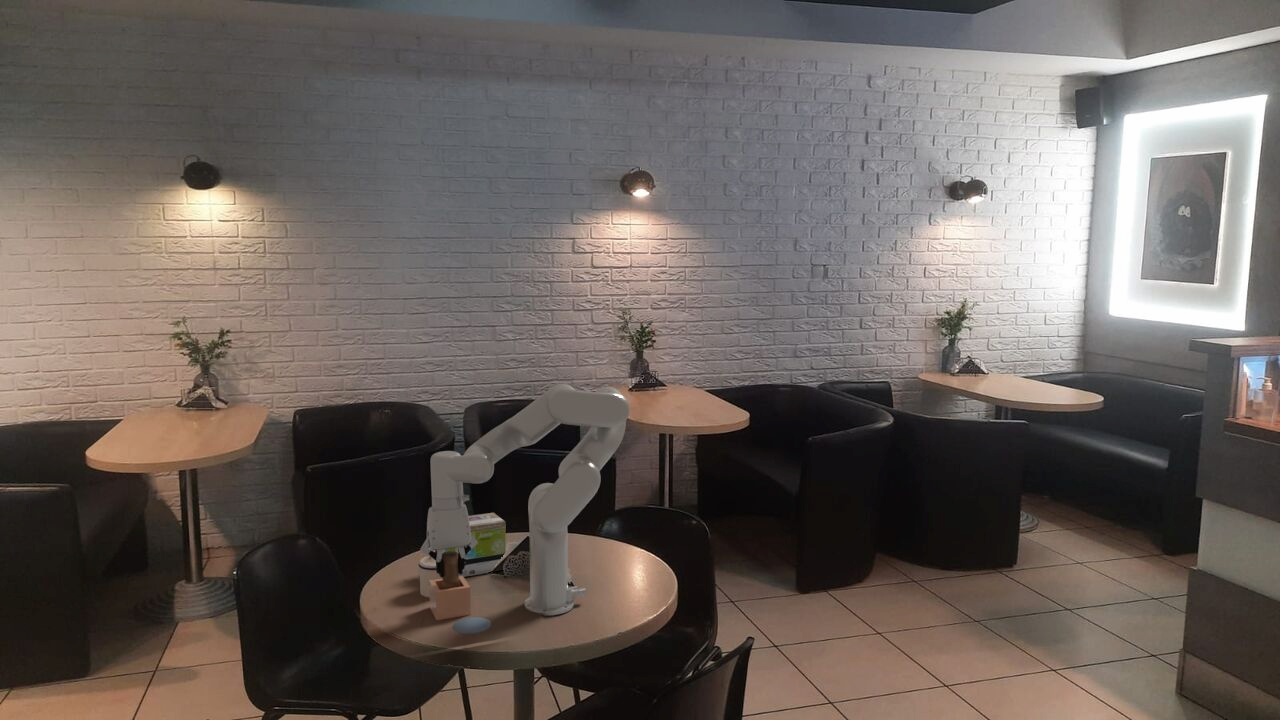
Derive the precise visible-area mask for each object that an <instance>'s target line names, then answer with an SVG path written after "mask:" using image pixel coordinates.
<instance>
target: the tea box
mask: <svg viewBox="0 0 1280 720" xmlns="http://www.w3.org/2000/svg"><path fill="white" fill-rule="evenodd" d="M468 517H469V524H470V533H471V534H472V535H473V537H474V538H475V539H476V540H477V542H478V544H477V545H475V546H474V547H473V548H471V550H470V551H469V552H468V553H467V554H466V557H465V558H464V569H463V570H462V574H459V576H463V577H464V578H466V577H471V576H477V575H484V573H485V574H489V573H488V572H490V571H491V570H492V569H493V568H494V567H495V565H496V564H497V563H498V561H499V560H500V559H501V557H503V555H504V554H505V553H506V535H507V534H506V526H507V525H506V521H505V520H504V519H502V518H501V517H500V516H499V515H497V514H496V513H495V512H490V513H488V512H487V513H482V514H474V515H468ZM448 551H455V552H458V550H457V547H456V548H450V549H443V553H444V552H448Z"/></svg>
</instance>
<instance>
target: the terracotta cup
mask: <svg viewBox="0 0 1280 720" xmlns="http://www.w3.org/2000/svg"><path fill="white" fill-rule="evenodd" d="M465 578H466V577H463V576H459V587H455V588H449V589H443V580H442V579H436V580H429V595H430V597H429V609H430V610H431V613H432V614H433V616H434V618H435V620H436V621H442V620H447V619H452V618H458V617H463V616H464V617H465V616H471V615H472V610H471V609H472V608H471V607H472V604H471V586H470V584H469V583H468V581H467V580H466V579H465Z"/></svg>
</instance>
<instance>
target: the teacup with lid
mask: <svg viewBox="0 0 1280 720" xmlns="http://www.w3.org/2000/svg"><path fill="white" fill-rule="evenodd" d="M433 551H434V552H435V550H433ZM441 558H442V557H441ZM418 567H419V590H420V591H419V592H420V593H419V594H420V595H421V596H422V597H424V598H425V597H426V598H430V595H429V580H436V579H442V577H440V575H439V573H438V574H437V572H436V560H435V559H433V558H432V557H431V556H429V555H427V556H425V557H423V558H421V559H420V560H419V562H418Z"/></svg>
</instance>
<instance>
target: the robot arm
mask: <svg viewBox="0 0 1280 720" xmlns="http://www.w3.org/2000/svg"><path fill="white" fill-rule="evenodd" d="M630 413H631V407H630V404H629V400H628V399H627V398H626V397H625V396H624V395H623V394H622V393H621V392H620V391H619V390H618V389H616V388H614V387H611V386H603V387H599V388H598V389H597V390H595V391H586V390H577V389H575V388H574V387H572V385H569V384H566V383H558V384H555V385H554V386H552V387H550V388H549V389H548V390H546V391H545V392H544V393H543V394H541V395H540V396H538V397H537V398H536V399H535V400H534V401H532V402H531V403H529V404H528V405H527V406H526V407H524V408H523V409H522V410H520V411H519V412H517V413H516V414H515V415H514V416H511V418H508V419H507V420H505V421H504V422H502V423H501V424H499V425H497V426H496V427H494V428H492V429H491V430H490V431H488V432H487V433H486V434H484V435H482V436H481V437H480V438H479V439H478V440H476V441H475V442H473V444H471V445H470V446H469V447H468V448H467V449H466V450H465V451H464V454H462V455H461V453H459V452H458V451H454V450H444V451H438V452H435V453H433V454H432V455H431V457H430V481H431V483H430V484H431V506H430V507H429V508H428V510H427V511H428V512H427V519H426V520H427V521H426V539H425V541H424V542H423V544H422V545H421V547H420V551H421V552H422V553H423V554H425V555H427V556H431V557H432V558H433V559H435V560H436V572H437V574H438V573H439V575H440V577H444V564H443V561H442V558H441V557H442V553H443V552H444V549H450V548H456V547H457V550H458V566H459V574H462V570H463V569H464V558H465V557H466V554H467V553H468V552H469V551H470V550H471V548H473V547H474V546H475V545H477V544H478V542H477V540H476V539H475V538H474V537H473V535H472V534H471V533H470V524H469V517H468V516H469V513H468V508H467V505H466V504H465V502H467V501H470V495H469V494H464V485H463V483H466V484H468V483H469V484H483V483H486V482H488V481H490V479H491V478H492V477H493V475H494V471H495V464H496V463H497V462H499V461H500V460H501V459H503V458H504V457H506V456H507V455H509V454H510V453H511V452H513V451H515V450H517V449H519V448H522V447H528V446H531V445H534V444H536V443H537V442H539V441H540V440H541V439H543V438H544V437H546V436H547V435H548V434H549V433H551V431H553V430H555V429H556V428H557V427H558V426H559V425H561V424H563V425H570V426H571V425H572V426H580V427H590V428H589V429H588V431H587V433H586V434H585V435H584V436H583V437H582V439H581V440H580V441H579V442H578V443H577V445H576V446H574V448H573V449H572V450H571V451H570V452H569V453H568V454H567V455H566V456H565V457H564V458H563V460H562V461H561V462H560V464H559V466H558V478H557V479H556V481H555V482H554V483H552V482H551V483H550V482H545V483H540V484H539V485H537V486H536V487H535V488H533V489H532V491H531V492H530V495H529V498H528V502H527V503H528V505H527V506H528V509H527V510H528V525H529V526H528V527H529V587H530V588H529V589H530V590H529V593H530V596H529V597H527V598H526V599H525V600H524V603H523V606H524V608H525V609H526V610H528V611H530V612H532V613H536V614H540V615H541V616H544V617H545V616H546V617H547V616H548V617H549V616H557V615H562V614H565V613H567V612H569V611H571V610H572V609H573V608H574V606H575V600H574V599H575V598H576V597H582V596H586V595H587V589H586V587H581V588H579V587H578V586H577V585H574V586H571V587H570V586H569V585H568V584H569V583H568V582H569V581H568V580H569V576H568V573H569V572H568V571H569V569H568V566H569V565H568V562H569V561H568V559H569V558H568V546H569V545H568V543H569V542H568V541H569V537H568V526H569V525H570V524H572V522H573V521H574V520H575V518H576V517H577V516H578V515H579V514H580V513H581V512H582V511H583V509H584V508H586V506H587V504H589V503H590V501H591V500H592V499H593V498H594V497H595V495H596V494H597V493H598V490H599V488H600V485H601V479H602V478H601V470H602V469H603V467H604V466H605V465H606V463H608V461H609V460H610V459H611V458H612V456H613V454H615V452H616V451H617V450H618V448H619V447H620V445H621V443H622V441H623V439H624V435H625V432H626V426H627V420H628V418H629V416H630ZM434 551H435V552H434Z"/></svg>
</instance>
